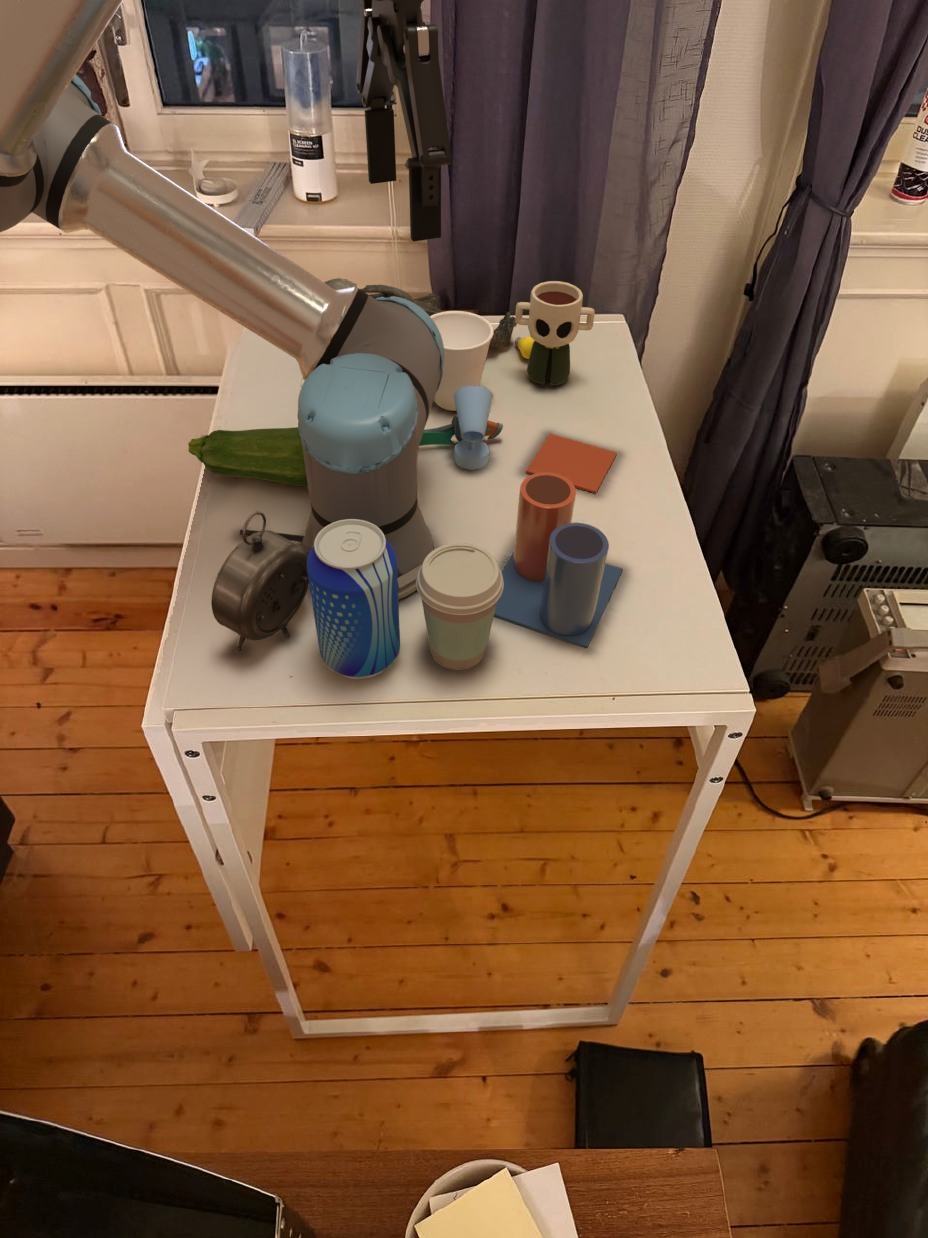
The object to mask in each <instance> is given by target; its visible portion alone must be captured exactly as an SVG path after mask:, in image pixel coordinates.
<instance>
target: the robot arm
mask: <svg viewBox="0 0 928 1238" xmlns="http://www.w3.org/2000/svg"><path fill="white" fill-rule="evenodd" d="M359 1H360V2H359V3H360V5H359V6H360V22H359V23H360V24H359V37H358V51H357V52H358V53H357V67H356V68H357V69H356V81H355V82H356V83H355V89H356V91H357V94H358V95H361V103H362V106H363V107H364V109H365V108H366V109H365V110H364V124H365V140H366V143H365V144H366V154H367V155H366V156H367V157H366V158H367V175H368V182H369V184H370V185H373V184H381V183H389V182H397V160H396V135H395V133H396V131H395V109H394V108H392V107H386V106H393V105H397V104H398V102H397V99H396V94H395V91H394V88H395V87H396V89H397V92H398V96H399V102H400V106H401V107H400V108H401V113H402V116H403V120H404V126H405V130H406V131H405V132H406V135H407V139H408V144H409V149H410V153H411V157H408V158H407V159H406V161H405V163H404V164H405V165H404V166H405V169H407V170H408V190H409V191H408V193H409V194H408V195H409V230H410V231H409V232H410V240H411V241H412V242H421V241H427V240H433V239H440V238H442V166H447V165H451V164H452V161H453V159H452V158H453V157H452V150H451V142H450V137H449V129H448V128H449V127H448V121H447V120H448V119H447V113H446V105H445V96H444V90H443V89H444V88H443V82H442V73H441V66H440V57H439V53H440V52H439V30H438V27H437V24H436V23H432V24H426V22H425V21H424V20H423V11H422V3H423V2H424V1H425V0H359ZM123 2H124V0H0V233H3V232H5V231H7V230H9V229H11V228H13V227H16V226H17V225H18V224H19V223H20V222H22V221H24V220H25V219H26V218H27V217H28V216H29V215H30V214H32V213H33V214H34V215H36V217H39V218H40V219H42V220H44V221H45V222H47V223H49V224H50V225H53V226H54V227H55V228H56V229H59V230H60V231H61V232H63V233H66V234H71V233H74V232H79V231H83V230H85V231H90V232H92V233H93V234H95V235H96V236H98V237H100V238H102V239H103V240H104V241H106V242H108V243H110V244H111V245H113V246H114V247H116V248H118V250H120V251H122V252H124V253H125V254H127V255H129V256H130V257H132V258H133V259H135V260H137V261H138V262H140V263H142V264H143V265H145V266H147V267H148V268H149V269H151V270H153V271H155V272H156V273H157V274H159V275H160V276H162V277H164V278H166V280H169V281H170V282H172V283H173V284H175V285H177V286H178V287H180V288H182V289H183V290H185V291H187V292H188V293H189V294H191V295H193V296H195V297H196V298H197V299H199V300H201V301H203V302H204V303H206V304H207V305H209V306H210V307H212V308H213V309H215V310H216V311H218V312H220V313H222V314H223V315H225V316H226V317H228V318H230V319H231V320H233V321H235V322H236V323H238V324H239V325H241V326H242V327H244V328H246V329H247V330H249V331H250V332H252V333H254V334H255V335H257V336H258V337H260V338H262V339H263V340H265V341H266V342H268V343H270V344H271V345H273V346H274V347H276V348H278V349H279V350H281V351H283V352H284V353H286V354H288V355H289V356H290V357H292V358H294V359H295V360H296V362H297V364H298V367H299V370H300V374H301V378H302V377H303V380H305V381H304V383H303V385H302V388H301V387H300V390H299V394H298V400H297V407H298V408H297V415H296V416H297V427H298V430H299V434H300V437H301V441H302V448H303V455H304V462H305V469H306V476H307V483H308V487H307V491H308V497H309V503H310V514H309V517H308V521H307V523H306V527H305V531H304V534H303V535H301V534H293V533H292V534H291V533H282V532H276V533H277V534H278V535H280V536H282V537H284V538H286V539H288V540H290V541H292V542H301V547H302V548H303V549H304V550H305V551H306V553H307V555H309V552H310V550H311V549H312V547H313V546H314V541H315V538H316V536H317V534H318V533H319V532H320V531H321V530H322V529H323V528H324V527H326V526H327V525H329V524H331V523H333V522H336V521H340V520H345V519H358V520H364V521H367V522H370V523H372V524H374V525H376V526H377V527H378V528H379V529H380V530H381V531H382V532H383V534H384V536H385V539H386V540H387V541H388V542H389V543H390V544H391V546H392V547H393V549H394V551H395V554H396V559H397V581H398V601H399V600H402V599H405V598H406V597H407V596H409V595H411V594H413V593H414V592H415V591H418V590H417V586H416V580H417V576H418V572H419V569H420V567H421V565H422V564H423V562H424V560H425V558H426V557H427V555H428V554H429V553H430V552H432V551H433V550H435V544H434V539H433V536H432V533H431V531H430V529H429V527H428V526H427V523H426V521H425V518H424V516H423V513H422V511H421V507H420V506H419V503H418V502H419V501H418V499H419V497H418V456H419V448H420V446H419V445H420V442H421V438H422V435H423V431H424V430H425V428H426V425H427V421H428V419H429V417H430V413H431V409H432V406H433V403H434V397H435V394H436V391H437V390H438V389H439V386H440V383H441V379H442V375H443V363H444V345H443V341H442V337H441V334H440V332H439V330H438V328H437V326H436V324H435V323H434V321H433V320H432V319H431V317H430V316H429V315H428V314H427V313H426V312H425V311H424V310H423V309H422V308H420V307H419V306H418V305H416V304H414V303H413V302H411V301H409V300H406V299H403V298H400V297H395V296H391V297H390V298H384V297H379V298H376V299H374V298H373V297H371V296H370V295H371V294H369V293H365V292H363V291H362V290H360V289H361V288H359V287H358V286H357V287H350V288H345V289H340V290H337V289H333V288H332V287H330V286H328V285H327V284H325V283H324V282H325V281H322V280H321V279H320V278H318V277H316V275H314V274H312V273H311V272H309V271H307V270H306V269H304V268H303V267H301V266H300V265H299V264H297V263H295V262H294V261H293V260H290V259H289V257H287V256H285V255H283V254H282V253H280V252H279V251H277V250H276V249H274V247H271V246H270V245H269V244H267V243H265V242H264V241H262V240H261V239H259V238H258V237H256V236H255V235H253V234H252V233H250V232H249V231H247V230H246V229H244V228H243V227H241V226H240V225H238V223H237V224H236V222H233V221H232V220H231V219H229V218H227V217H226V216H224V215H223V214H222V213H220V212H219V211H218V210H216V209H214V208H213V207H211V206H210V205H208V204H206V203H205V202H204V201H202V200H201V199H199V198H197V197H196V196H195V195H194V194H192V193H190V192H189V191H187V190H186V189H184V188H182V187H181V186H180V185H178V184H177V183H175V182H174V181H172V180H170V178H168V177H166V176H165V175H163V174H162V173H160V172H158V171H157V170H155V169H154V168H153V167H151V166H149V165H148V164H147V163H145V162H143V161H142V160H140V159H139V158H137V157H136V156H134V155H133V154H132V153H130V152H129V151H128V150H127V148H126V147H125V144H124V141H123V138H122V135H121V132H120V128H119V127H118V126H117V125H115V124H114V123H113V122H112V121H111V120H109V119H108V118H106V117H104V116H102V112H101V109H100V106H99V105H98V104H97V103H96V102H94V100H93V98H92V92H91V91H90V89H89V88H88V86H87V85H86V84H85V82H84V81H83V80H82V79H81V78H80V77H79V76H78V75H77V73H78V71H79V70H80V68H81V67H82V65H83V63H84V62H85V60H86V59H87V57H88V56H89V54H90V53H91V51H92V50H93V48H94V46H95V45H96V44H97V42H98V41H99V39H100V37H101V36H102V34H103V33H104V31H105V30H106V28H107V27H108V25H109V23H110V22H111V20H112V18H113V17H114V15H115V14H116V13H117V11H118V9H119V8H120V6H121V5H122V3H123ZM431 148H432V149H431ZM259 531H260V530H251V529H246V537H248V536H250V535H252V534H254V533H256V532H259ZM242 533H243V528H242V529H240V530H239V535H240V536H242Z"/></svg>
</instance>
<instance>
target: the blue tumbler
mask: <svg viewBox="0 0 928 1238" xmlns="http://www.w3.org/2000/svg"><path fill="white" fill-rule="evenodd" d="M609 548H610V543H609V540H608V538H607V536H606V535H605V533H604V532H603V531H602V530H600V529H599V528H598V527H595V526H594V525H592V524H588V523H583V522H571V523H568V524H564V525H561V526H559V527H558V528H556V529H555V530H554V531H553V532H552V534H551V535H550V539H549V546H548V553H547V560H546V568H545V575H544V582H543V590H542V597H541V604H540V612H539V615H540V619H541V621H542V623H543V624H544V626H545V627H546V628H548V629H549V630H550V631H552V632H554V633H556V634H559V635H564V636H575V635H579V634H582V633H584V632H586V631H587V630H588V629H589V628H590V627H591V626H592V624H593V621H594V616H595V611H596V607H597V602H598V597H599V592H600V587H601V582H602V578H603V573H604V568H605V563H606V564H607V558H608V553H609Z"/></svg>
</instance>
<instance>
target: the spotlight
mask: <svg viewBox="0 0 928 1238" xmlns="http://www.w3.org/2000/svg"><path fill="white" fill-rule="evenodd" d="M493 397H494V395H493V392H492V391H491V390H490V389H488V388H487V387H485V386H482V385H480V386H475V385H472V386H465V387H462V388H460V389H458V390H457V391H456V392H455V393H454V399H455V405H456V410H457V411H456V416H457V417H458V421H459V427H460V432H461V437H462V439H463V440H462V441H460V442H459V441H457V443H456V444H455V445H454V452H453V456H454V457H453V458H454V463H455V464H456V465H457V466H458V467H459V468H461V469H465V470H470V471H474V470H480V469H483V468H485V466H486V465H488V463H489V458H490V457H489V456H490V453H489V452H490V447H489V446H488V444H487V443H486V442H485V441H483V440H484V439H485V437H486V436H485V431H486V427H487V422H488V420H489V416H490V412H491V407H492V402H493ZM484 436H485V437H484Z"/></svg>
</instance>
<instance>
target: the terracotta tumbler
mask: <svg viewBox="0 0 928 1238" xmlns="http://www.w3.org/2000/svg"><path fill="white" fill-rule="evenodd" d="M576 496H577V488H575V486H574V485H573V483H572V482H571V481H570V480H569V479H567V478H566V477H564V476H562V475H559V474H556V473H550V472H541V473H535V474H532V475H531V474H529V475H528V476H527V477H525V478H523V480H522V481H521V483H520V485H519V494H518V505H517V517H516V526H515V536H514V537H515V538H514V546H513V547H514V548H513V552H514V556H513V565H514V568H515V570H516V571H517V572H518V573H519V574H520V575H521V576H523V577H524V578H526V579H529V580H532V581H539V582H543V581H544V575H545V568H546V560H547V553H548V546H549V539H550V535H551V534H552V532H553V531H554V530H555V529H556V528H558V527H559V526H561V525H564V524H568V523H573V522H572V521H573V514H574V507H575V503H576Z"/></svg>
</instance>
